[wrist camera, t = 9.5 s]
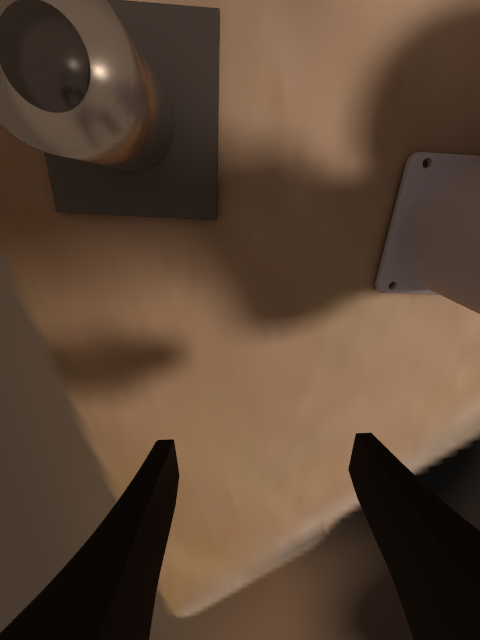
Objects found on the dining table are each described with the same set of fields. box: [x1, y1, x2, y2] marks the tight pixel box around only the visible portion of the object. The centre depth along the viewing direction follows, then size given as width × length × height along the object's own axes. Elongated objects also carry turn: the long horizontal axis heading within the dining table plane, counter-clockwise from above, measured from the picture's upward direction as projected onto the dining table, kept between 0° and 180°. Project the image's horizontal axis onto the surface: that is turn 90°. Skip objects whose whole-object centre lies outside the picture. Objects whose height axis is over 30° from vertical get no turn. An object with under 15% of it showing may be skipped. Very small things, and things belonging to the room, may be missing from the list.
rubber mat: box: [45, 0, 220, 220], centre depth 15 cm, size 9×9×1 cm
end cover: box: [0, 0, 175, 172], centre depth 11 cm, size 5×5×7 cm
